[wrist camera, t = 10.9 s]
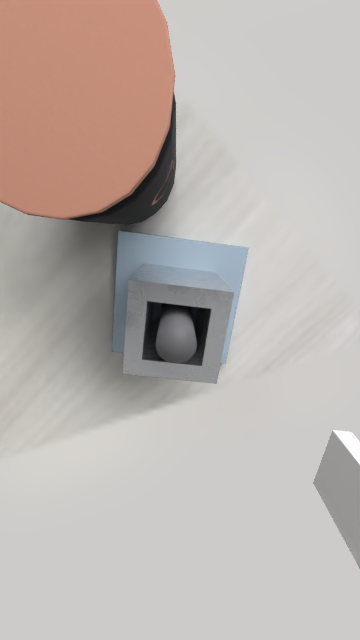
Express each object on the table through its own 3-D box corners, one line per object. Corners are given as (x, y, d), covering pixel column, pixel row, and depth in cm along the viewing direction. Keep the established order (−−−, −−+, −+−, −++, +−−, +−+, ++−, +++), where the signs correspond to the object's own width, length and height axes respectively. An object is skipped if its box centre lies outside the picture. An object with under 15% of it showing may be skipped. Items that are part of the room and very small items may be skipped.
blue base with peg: (113, 347, 34) (78, 415, 22) (120, 230, 30) (80, 232, 17) (224, 360, 35) (250, 432, 23) (246, 247, 31) (293, 260, 18)
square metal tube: (138, 331, 32) (122, 373, 23) (143, 263, 30) (128, 279, 20) (205, 338, 33) (216, 383, 23) (216, 272, 30) (234, 292, 21)
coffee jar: (177, 223, 30) (179, 216, 13) (78, 226, 30) (-55, 223, 13) (174, 105, 26) (170, -123, 9) (62, 108, 26) (-150, -117, 9)
